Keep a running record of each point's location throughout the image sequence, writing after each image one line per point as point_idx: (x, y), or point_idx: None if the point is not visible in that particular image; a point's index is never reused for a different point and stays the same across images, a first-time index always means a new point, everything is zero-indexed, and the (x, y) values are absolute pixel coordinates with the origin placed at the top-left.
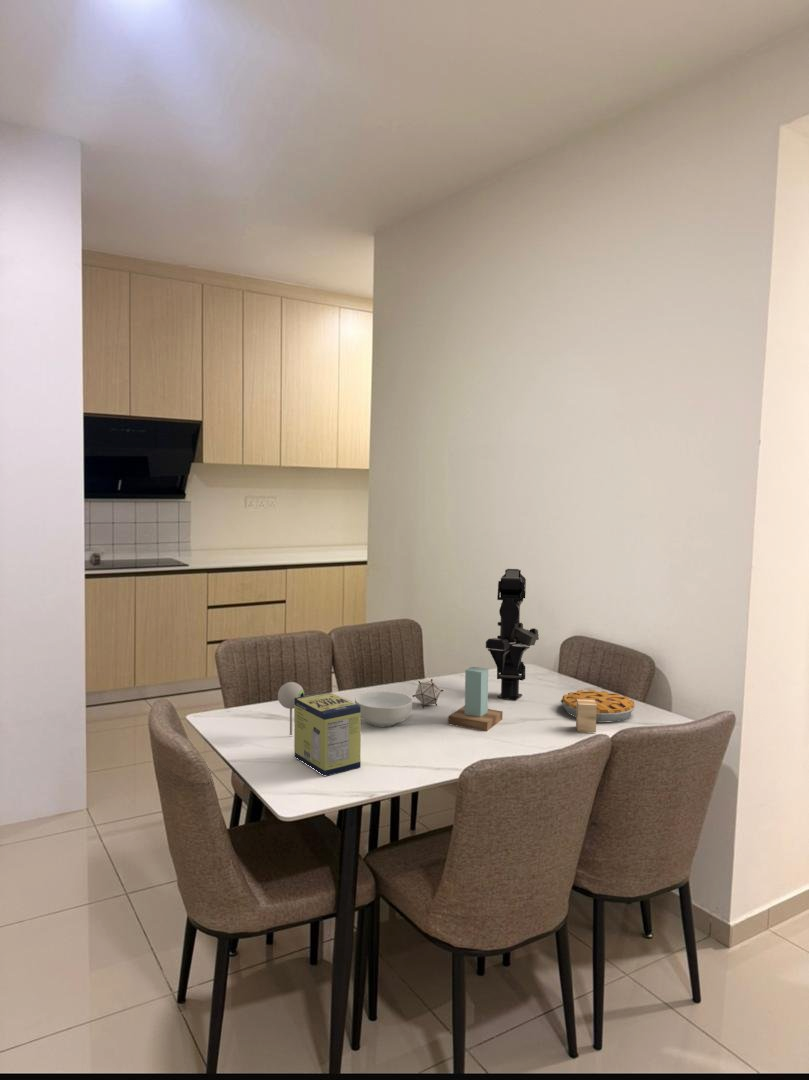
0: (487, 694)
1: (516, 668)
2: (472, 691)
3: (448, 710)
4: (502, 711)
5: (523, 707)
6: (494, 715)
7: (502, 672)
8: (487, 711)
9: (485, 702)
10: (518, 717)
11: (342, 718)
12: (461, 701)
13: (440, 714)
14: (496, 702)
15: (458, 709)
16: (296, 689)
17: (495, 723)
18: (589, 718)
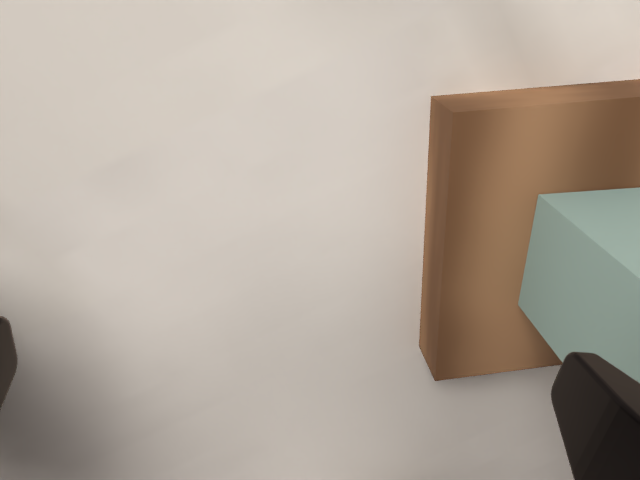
0: (636, 269)
1: (3, 339)
2: None
3: (418, 426)
4: (455, 112)
5: (21, 86)
6: (584, 119)
7: (580, 352)
8: (506, 208)
9: (637, 232)
10: (317, 2)
11: None
12: (216, 460)
13: (504, 420)
14: (71, 310)
15: (542, 366)
16: None
17: (576, 86)
18: None
